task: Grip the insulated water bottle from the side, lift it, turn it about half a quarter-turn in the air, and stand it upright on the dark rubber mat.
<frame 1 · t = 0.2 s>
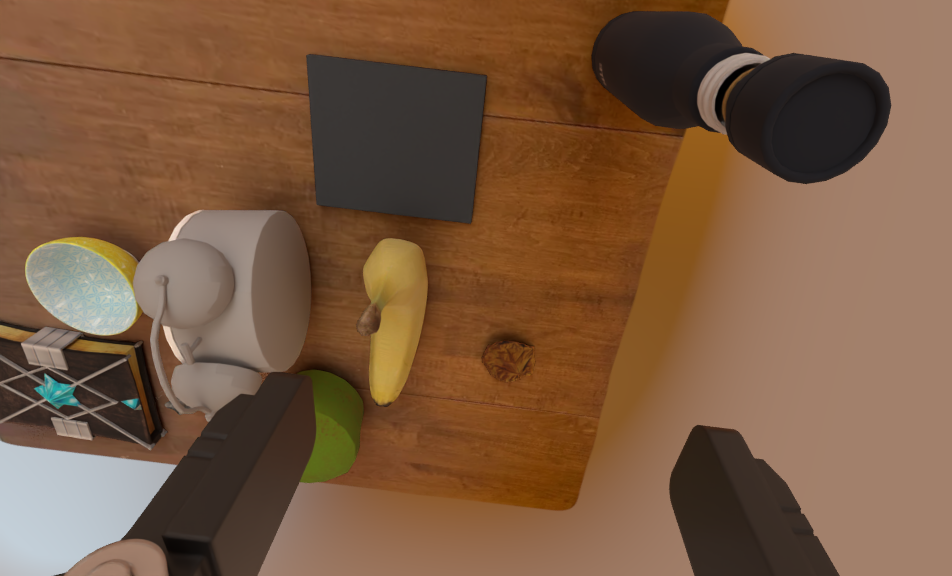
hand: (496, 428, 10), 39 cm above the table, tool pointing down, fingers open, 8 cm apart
insulated water bottle: (628, 54, 42), on the table
apple: (328, 392, 64), on the table
banana: (404, 295, 55), on the table
leaf: (509, 354, 59), on the table
alarm clock: (285, 250, 54), on the table
mat: (397, 143, 47), on the table
bowl: (124, 264, 56), on the table
book: (80, 374, 65), on the table
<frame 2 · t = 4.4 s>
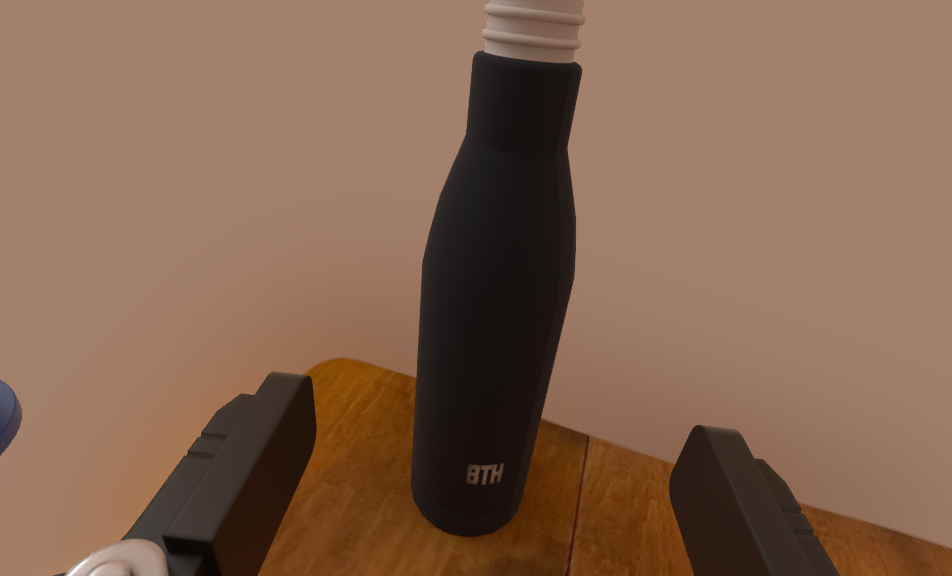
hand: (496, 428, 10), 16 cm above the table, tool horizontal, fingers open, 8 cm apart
insulated water bottle: (466, 486, 28), on the table
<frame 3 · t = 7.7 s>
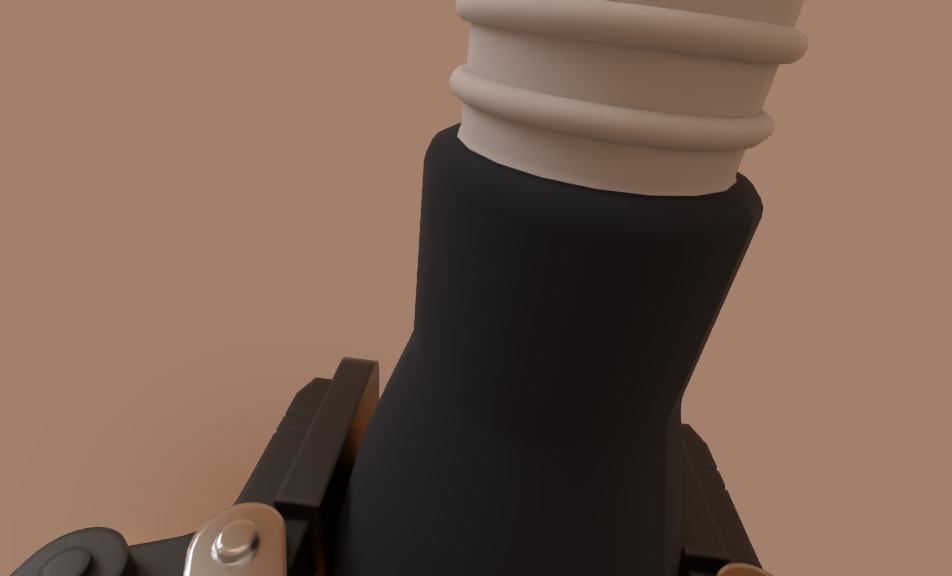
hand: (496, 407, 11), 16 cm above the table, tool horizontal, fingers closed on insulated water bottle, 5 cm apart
when the fingers open (17 cm above the table, at t = 15.4 s): insulated water bottle stays where it is, resting on mat.
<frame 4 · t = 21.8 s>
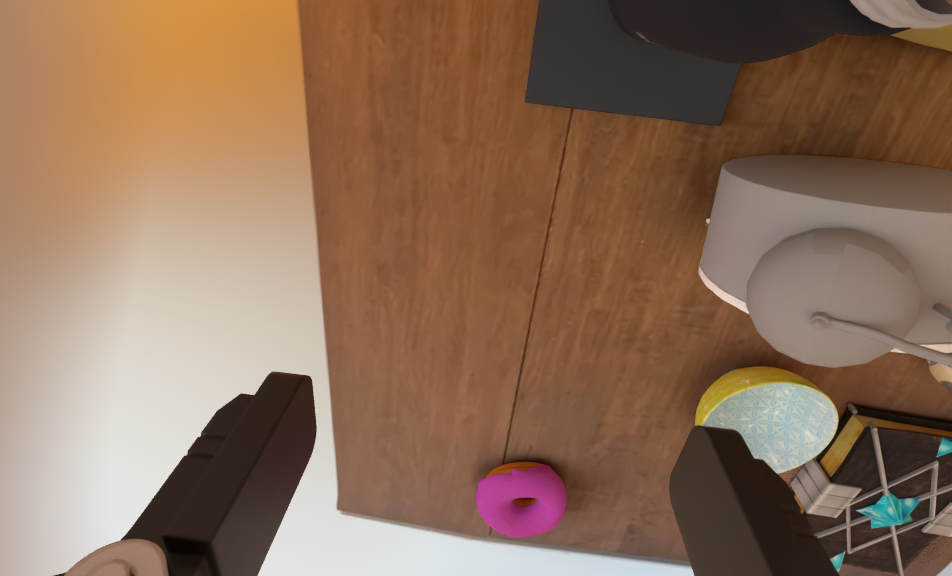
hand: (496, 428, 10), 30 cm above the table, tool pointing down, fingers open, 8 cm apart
donut: (521, 481, 57), on the table
alarm clock: (775, 189, 37), on the table
bowl: (737, 383, 47), on the table
vase: (931, 348, 44), on the table
book: (867, 480, 53), on the table
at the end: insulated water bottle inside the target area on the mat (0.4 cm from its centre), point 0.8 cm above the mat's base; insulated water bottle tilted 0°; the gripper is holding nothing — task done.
